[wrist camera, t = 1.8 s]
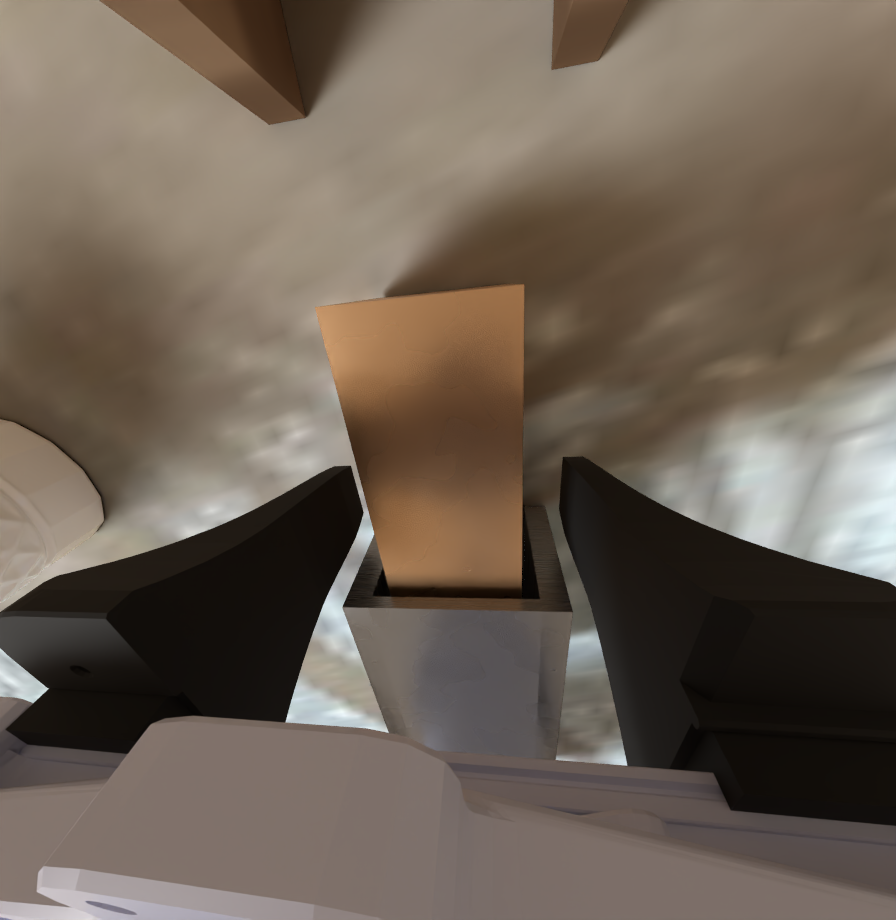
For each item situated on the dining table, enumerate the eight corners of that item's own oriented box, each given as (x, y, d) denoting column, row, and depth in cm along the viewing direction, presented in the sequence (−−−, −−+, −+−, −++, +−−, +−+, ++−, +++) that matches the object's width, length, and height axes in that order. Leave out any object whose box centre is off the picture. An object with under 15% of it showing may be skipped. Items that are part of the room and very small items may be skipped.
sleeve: (538, 645, 17) (555, 761, 13) (415, 641, 18) (394, 748, 14) (544, 506, 13) (572, 612, 9) (385, 509, 14) (342, 607, 10)
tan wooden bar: (513, 636, 17) (520, 729, 13) (436, 633, 17) (424, 722, 14) (509, 283, 9) (524, 284, 6) (375, 298, 10) (314, 307, 6)
